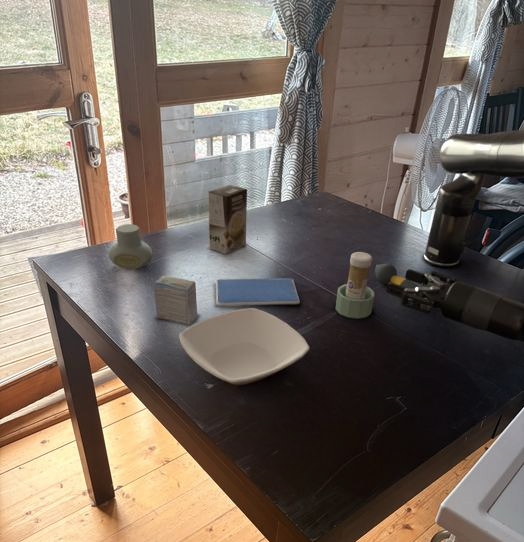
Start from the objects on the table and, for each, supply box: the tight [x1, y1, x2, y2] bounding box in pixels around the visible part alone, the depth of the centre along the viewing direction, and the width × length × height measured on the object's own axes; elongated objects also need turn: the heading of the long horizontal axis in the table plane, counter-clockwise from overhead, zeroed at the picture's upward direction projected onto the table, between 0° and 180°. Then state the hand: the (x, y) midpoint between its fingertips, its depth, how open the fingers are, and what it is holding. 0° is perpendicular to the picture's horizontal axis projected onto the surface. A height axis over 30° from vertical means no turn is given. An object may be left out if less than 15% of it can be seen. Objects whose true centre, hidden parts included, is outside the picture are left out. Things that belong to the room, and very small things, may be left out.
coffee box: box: [208, 184, 248, 255], centre depth 141 cm, size 9×6×16 cm
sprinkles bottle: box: [346, 251, 373, 300], centre depth 115 cm, size 5×5×13 cm
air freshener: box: [108, 223, 153, 271], centre depth 131 cm, size 11×8×10 cm
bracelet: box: [335, 283, 375, 320], centre depth 118 cm, size 8×8×4 cm
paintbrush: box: [374, 263, 421, 295], centre depth 126 cm, size 20×5×5 cm, turn 38°
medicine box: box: [153, 275, 198, 325], centre depth 111 cm, size 8×4×9 cm, turn 71°
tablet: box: [215, 277, 301, 307], centre depth 123 cm, size 19×13×1 cm, turn 95°
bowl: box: [178, 307, 310, 386], centre depth 99 cm, size 22×22×5 cm
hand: (397, 280), depth 109 cm, fingers open, 8 cm apart
